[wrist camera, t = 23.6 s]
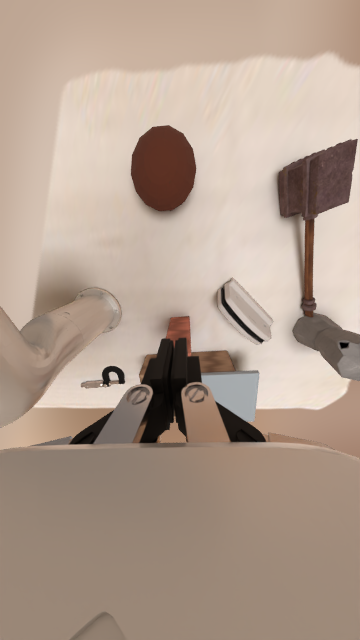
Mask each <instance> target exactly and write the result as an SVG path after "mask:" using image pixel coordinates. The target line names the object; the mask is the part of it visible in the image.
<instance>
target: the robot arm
mask: <svg viewBox="0 0 360 640" xmlns="http://www.w3.org/2000/svg"><path fill="white" fill-rule="evenodd" d="M103 293H104V294H103ZM117 309H118V310H117ZM120 320H121V308H120V305H119V303H118V302H117V300H116V299H115V298H114V296H112V295H111V294H110V293H109V292H107V291H105V290H102V289H99V288H89V289H86V290H83V291H82V292H80V293H79V294H78V295H77V297H76V298H75V301H74V302H71V303H69V304H67V305H64V306H62V307H60V308H57V309H55V310H53V311H50V312H48V313H46V314H43V315H41V316H38V317H36V318H34V319H32V320H31V321H30V322H28V323H27V324H26V325H25V326H24V327H23V328H22V329H21V331H19V330H18V329H17V327H16V326H15V325H14V323H13V322H12V321H11V320H10V318H9V317H8V316H7V314H6V313H5V312H4V310H3V309H2V308H1V307H0V428H1V427H4V426H6V425H8V424H10V423H12V422H14V421H15V420H17V419H18V418H20V417H21V416H23V415H24V414H25V413H26V412H28V411H29V410H30V409H31V408H32V407H33V406H34V405H35V404H36V403H37V402H38V401H39V400H40V399H41V397H42V396H43V395H44V393H45V392H46V391H47V389H48V388H49V387H50V385H51V384H52V382H53V381H54V379H55V378H56V377H57V375H58V374H59V373H60V372H61V371H62V369H63V368H64V367H65V366H66V365H67V364H68V363H69V362H70V361H71V360H72V359H73V358H75V357H76V356H77V355H78V354H79V353H80V352H81V351H82V350H83V349H84V348H85V347H86V346H88V345H89V344H90V343H91V342H92V341H93V340H94V339H95V338H96V337H97V336H98V335H99V334H101V333H106V332H109V331H111V330H113V329H114V328H115V327H116V326H117V325H118V324H119V322H120ZM174 411H175V418H176V423H178V428H179V430H180V431H181V432H182V433H183V434H184V435H185V436H186V441H187V443H160V442H161V434H162V433H163V432H164V431H165V430H169V428H170V423H173V422H174ZM0 640H360V458H358V457H354V456H351V455H349V454H345V453H342V452H340V451H336V450H334V449H333V448H331V447H329V446H328V445H325V444H322V443H319V442H314V441H309V440H304V439H299V438H294V437H289V436H284V435H279V434H274V433H268V435H265V434H262V433H261V432H260V431H259V430H257V429H256V428H255V427H253V426H252V425H250V424H249V423H248V422H246V421H245V420H243V419H242V418H240V417H239V416H237V415H236V414H234V413H233V412H231V411H230V410H228V409H227V408H225V407H224V406H222V405H221V404H219V403H218V402H216V401H215V400H214V397H213V394H212V392H211V390H210V388H209V387H208V386H207V385H206V384H203V383H202V378H201V369H200V360H199V356H188V349H187V338H186V337H185V338H178V340H175V347H174V342H173V340H170V338H168V339H162V340H161V343H160V347H159V350H158V353H157V357H156V358H150V360H149V363H148V365H147V368H146V371H145V374H144V377H143V379H142V382H141V384H139V385H136V386H133V387H131V388H130V389H129V390H127V392H126V393H125V394H124V396H123V397H122V399H121V400H120V402H119V404H118V405H117V407H116V408H115V410H113V411H112V412H110V413H109V414H107V415H106V416H104V417H103V418H101V419H100V420H98V421H97V422H95V423H94V424H92V425H90V426H89V427H87V428H86V429H84V430H83V431H81V432H80V433H79V434H77V435H76V436H75V437H74V438H73V439H72V437H71V436H69V437H66V438H61V439H57V440H53V441H49V442H45V443H41V444H37V445H32V446H28V447H19V448H10V449H4V450H0Z"/></svg>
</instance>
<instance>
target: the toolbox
mask: <svg viewBox="0 0 360 640" xmlns="http://www.w3.org/2000/svg"><path fill="white" fill-rule="evenodd" d="M191 356H199V360H200V369H201V373H211V372H234V371H235V369H234V366H233V364H232V361H231V359H230V357H229V354H228V352H227V351H211V352H192V353H191ZM156 357H157V354H154V355H147V356H146V358H145V361H144V363H143V366H142V368H141V371H140V374H139V377H140V382H142V379H143V377H144V374H145V371H146V368H147V365H148V363H149V360H150V358H156ZM174 419H176V418H175V411H174Z"/></svg>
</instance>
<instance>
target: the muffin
mask: <svg viewBox="0 0 360 640" xmlns="http://www.w3.org/2000/svg"><path fill="white" fill-rule="evenodd" d="M195 173H196V164H195V158H194V153H193V149H192V147H191V145H190V144H189V142H188V141H187V139H186V137H185V136H184V134H183V133H181V132H179V131H178V130H176V129H174V128H172V127H171V126H169V125H167V126H157V127H152V128H151V129H150V130H149V131H147V132H146V133H145V134H144V135H143V136H141V137H140V138H139V141H138V143H137V145H136V147H135V150H134V152H133V154H132V166H131V176H132V179H133V183H134V186H135V190H136V192H137V194H138V195H139V196H140V197H141V199H142V200H143V201H144V203H145V204H146V205H148V206H150V207H152V208H154V209H156V210H158V211H166V210H170V211H171V210H173V209H175V208H176V207H178V206H179V205H181V204H182V203H183V202H185V200H186V198H187V197H188V195H189V193H190V192H191V190H192V188H193V185H194V179H195Z"/></svg>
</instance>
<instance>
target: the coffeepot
mask: <svg viewBox="0 0 360 640" xmlns="http://www.w3.org/2000/svg"><path fill="white" fill-rule="evenodd" d="M293 333H294V336H295V338H296V340H297V341H298V342H300V343H302V344H304V345H306V346H308V347H310V348H312V349H314V350H317V351H320V353H321V355H322V356H323V358H324V359H325V360H326V361H327V362H328V363H329V364H330V365H331V366H332V367H333V368H334V369H335V370H336V371H337V372H338V374H339V375H340V376H341V377H343V378H348V379H352V380H357V381H360V334H356V333H353V332H350V331H346V330H343V329H342V328H341V327H340V326H338V325H337V324H336V323H334V322H333V321H332V320H331V319H329V318H328V317H327V316H324V315H320V314H316V313H313V317H308V316H304V317H302V318H301V319H299V320H298V321H297V323H296V324H295V326H294V330H293Z"/></svg>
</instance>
